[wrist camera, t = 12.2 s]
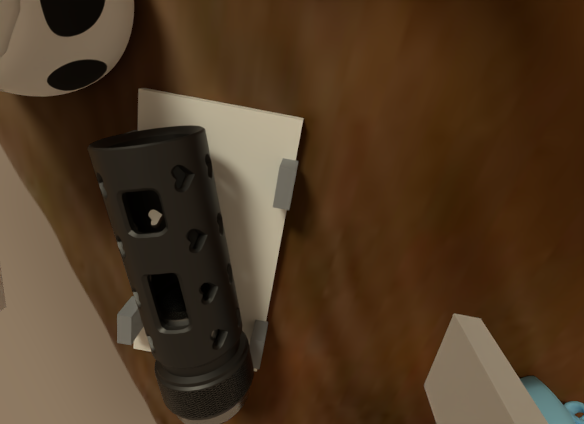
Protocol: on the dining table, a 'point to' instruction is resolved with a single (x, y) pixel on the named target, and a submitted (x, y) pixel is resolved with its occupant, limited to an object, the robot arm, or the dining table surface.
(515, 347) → the dining table surface
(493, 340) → the robot arm
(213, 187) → the muzzle brake
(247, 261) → the mounting board
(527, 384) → the teapot
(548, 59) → the dining table surface
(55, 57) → the milk container
